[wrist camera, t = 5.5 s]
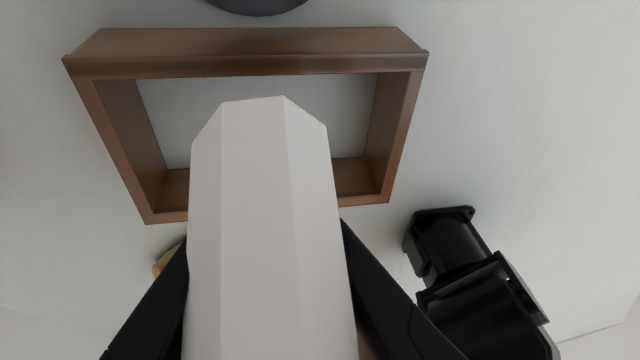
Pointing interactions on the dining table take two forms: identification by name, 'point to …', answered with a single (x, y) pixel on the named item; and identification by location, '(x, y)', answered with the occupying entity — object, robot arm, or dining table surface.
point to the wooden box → (242, 60)
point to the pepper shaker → (265, 239)
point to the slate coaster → (257, 6)
